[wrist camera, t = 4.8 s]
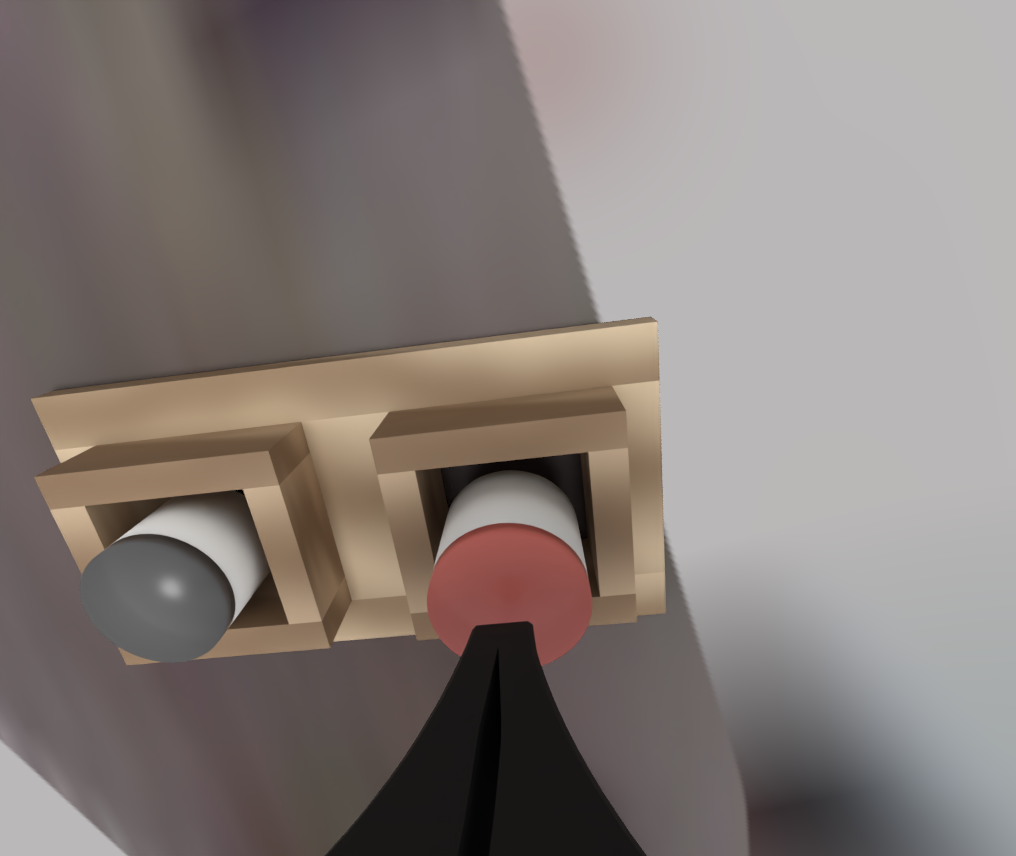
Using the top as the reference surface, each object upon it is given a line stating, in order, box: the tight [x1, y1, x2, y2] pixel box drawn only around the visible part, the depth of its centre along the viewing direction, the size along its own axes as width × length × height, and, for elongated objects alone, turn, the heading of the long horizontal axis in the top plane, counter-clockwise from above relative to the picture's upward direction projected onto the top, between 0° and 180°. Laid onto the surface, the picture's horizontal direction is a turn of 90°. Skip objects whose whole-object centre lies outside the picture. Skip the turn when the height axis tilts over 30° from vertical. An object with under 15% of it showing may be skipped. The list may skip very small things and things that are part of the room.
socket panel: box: [31, 317, 666, 665], centre depth 19 cm, size 12×22×4 cm, turn 97°
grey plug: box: [80, 490, 271, 663], centre depth 18 cm, size 4×4×4 cm
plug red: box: [427, 470, 592, 666], centre depth 16 cm, size 4×4×4 cm
